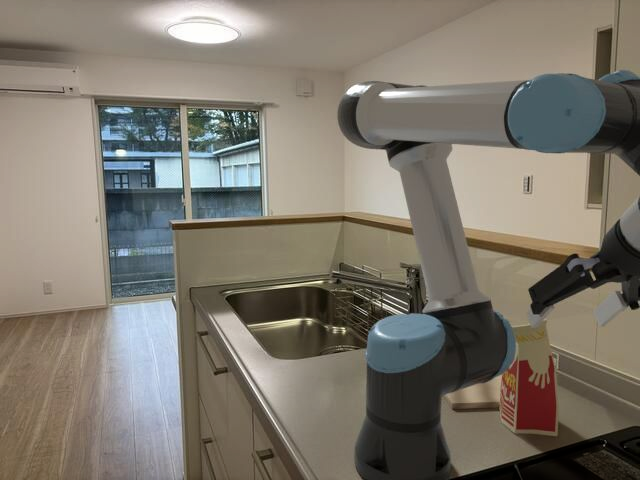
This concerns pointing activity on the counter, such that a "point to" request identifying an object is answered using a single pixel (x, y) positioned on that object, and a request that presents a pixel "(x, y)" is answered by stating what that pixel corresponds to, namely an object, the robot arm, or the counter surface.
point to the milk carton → (530, 385)
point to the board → (476, 395)
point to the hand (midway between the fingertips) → (564, 319)
